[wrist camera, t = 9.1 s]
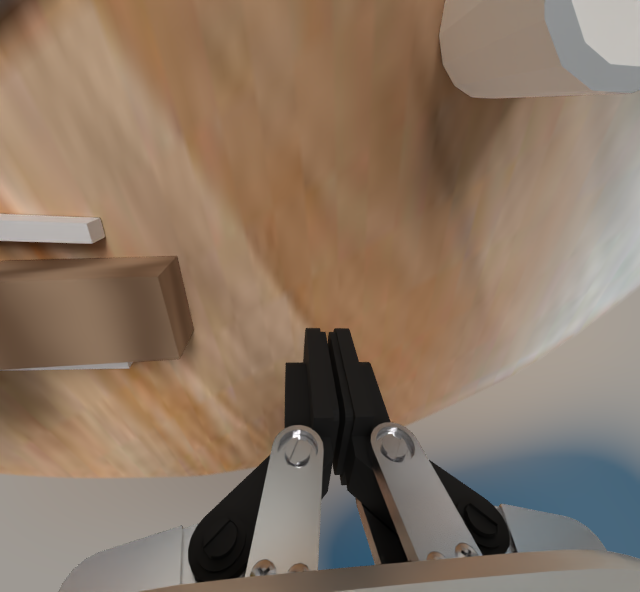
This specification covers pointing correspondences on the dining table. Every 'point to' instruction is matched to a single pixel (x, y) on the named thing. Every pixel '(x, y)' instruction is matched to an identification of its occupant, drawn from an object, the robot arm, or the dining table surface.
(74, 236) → the grey block with rails
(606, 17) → the white short cylinder
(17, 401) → the dining table surface
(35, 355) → the walnut slat
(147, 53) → the dining table surface
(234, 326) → the dining table surface
